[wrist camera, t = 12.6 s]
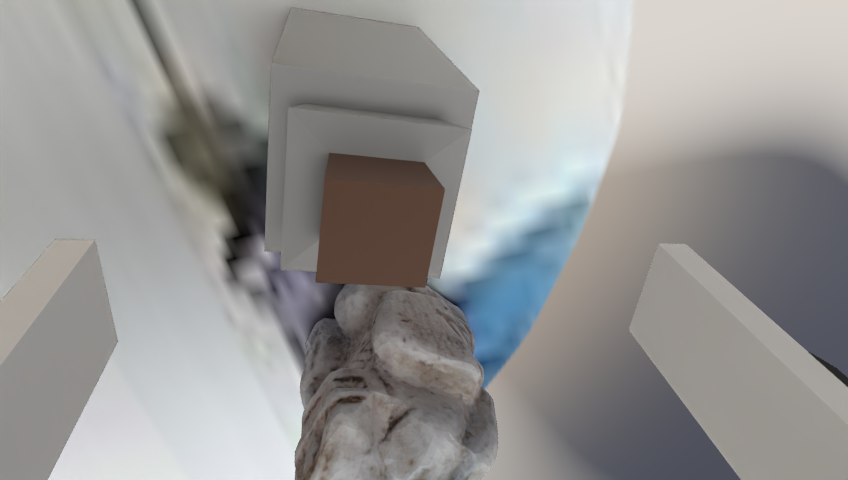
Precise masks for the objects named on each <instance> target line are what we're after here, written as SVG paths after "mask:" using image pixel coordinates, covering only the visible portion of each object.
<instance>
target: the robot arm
mask: <svg viewBox="0 0 848 480" xmlns="http://www.w3.org/2000/svg"><path fill="white" fill-rule="evenodd" d="M629 331H630V332H631V333H632V335H633V336H634V337H635V339H636V340H637V341H638V343H639V344H640V346H641V347H642V348H643V349H644V351H645V352H646V354H647V355H648V356H649V358H650V359H651V360H652V361H653V363H654V364H655V366H656V367H657V368H658V370H659V371H660V372H661V374H662V375H663V376H664V378H665V379H666V380H667V382H668V383H669V384H670V385H671V387H672V388H673V390H674V391H675V392H676V393H677V395H678V396H679V398H680V399H681V400H682V402H683V403H684V404H685V406H686V407H687V408H688V410H689V411H690V412H691V414H692V415H693V416H694V418H695V419H696V420H697V421H698V423H699V424H700V426H701V427H702V428H703V430H704V431H705V432H706V434H707V435H708V436H709V438H710V439H711V440H712V442H713V443H714V444H715V446H716V447H717V448H718V450H719V451H720V452H721V454H722V455H723V456H724V458H725V459H726V460H727V462H728V463H729V464H730V466H731V467H732V468H733V470H734V471H735V472H736V474H737V475H738V476H739V478H740V479H741V480H848V378H847V377H846V376H845V375H844V374H842V372H840V371H839V370H838V369H837V368H836V367H834V366H832V365H830V364H829V363H827V362H825V361H824V360H822V359H820V358H819V357H817V356H815V355H814V354H812V353H810V352H807V351H806V350H805V349H804V348H803V347H802V346H800V345H799V344H798V343H797V342H796V341H794V339H793V338H791V337H790V336H789V335H788V334H787V333H786V332H785V331H784V330H782V329H781V328H780V327H779V326H778V325H777V324H776V323H774V322H773V321H772V320H771V319H770V318H769V317H768V316H766V315H765V314H764V313H763V312H762V311H761V310H760V309H758V308H757V307H756V306H755V305H754V304H753V303H752V302H751V301H749V300H748V299H747V298H746V297H745V296H744V295H743V294H742V293H740V292H739V291H738V290H737V289H736V288H735V287H734V286H733V285H731V284H730V283H729V282H728V281H727V280H726V279H725V278H723V277H722V276H721V275H720V274H719V273H718V272H717V271H716V270H714V269H713V268H712V267H711V266H710V265H709V264H708V263H706V262H705V261H704V260H703V259H702V258H701V257H700V256H699V255H697V254H696V253H695V252H694V251H693V250H692V249H691V248H690V247H688V246H687V245H686V244H658V247H657V250H656V252H655V255H654V258H653V261H652V264H651V267H650V270H649V273H648V276H647V278H646V281H645V284H644V287H643V290H642V293H641V296H640V299H639V301H638V304H637V307H636V310H635V313H634V316H633V319H632V322H631V325H630V327H629ZM117 342H118V340H117V335H116V331H115V326H114V322H113V317H112V313H111V308H110V304H109V300H108V295H107V291H106V286H105V282H104V277H103V273H102V269H101V264H100V260H99V255H98V251H97V246H96V242H95V240H85V239H55V240H54V241H53V242H52V243H51V244H50V246H49V247H48V248H47V249H46V250H45V251H44V252H43V254H42V255H41V256H40V257H39V258H38V259H37V260H36V261H35V263H34V264H33V265H32V266H31V267H30V268H29V269H28V271H27V272H26V273H25V274H24V275H23V276H22V277H21V279H20V280H19V281H18V282H17V283H16V284H15V285H14V286H13V288H12V289H11V290H10V291H9V292H8V293H7V294H6V296H5V297H4V298H3V299H2V300H1V301H0V480H48V478H49V476H50V474H51V472H52V470H53V468H54V466H55V464H56V462H57V460H58V458H59V456H60V454H61V452H62V450H63V448H64V446H65V444H66V443H67V441H68V439H69V437H70V435H71V433H72V431H73V429H74V427H75V425H76V423H77V421H78V419H79V417H80V415H81V413H82V411H83V409H84V407H85V405H86V403H87V401H88V399H89V397H90V395H91V393H92V391H93V390H94V388H95V386H96V384H97V382H98V380H99V378H100V376H101V374H102V372H103V370H104V368H105V366H106V364H107V362H108V360H109V358H110V356H111V354H112V352H113V350H114V348H115V346H116V344H117Z"/></svg>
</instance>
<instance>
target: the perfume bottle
mask: <svg viewBox="0 0 848 480" xmlns="http://www.w3.org/2000/svg"><path fill="white" fill-rule="evenodd" d="M478 95H479V90H478V89H477V88H476V87H475V86H474V85H473V84H472V83H471V82H470V80H469V79H468V78H467V77H466V76H465V75H464V74H463V73H462V72H461V71H460V70H459V69H458V68H457V67H456V66H455V65H454V64H453V63H452V62H451V61H450V60H449V59H448V58H447V57H446V55H445V54H444V53H443V52H442V51H441V50H440V49H439V48H438V47H437V46H436V45H435V44H434V43H433V42H432V41H431V40H430V39H429V38H428V37H427V36H426V35H425V34H424V33H423V32H422V30H421V29H420V28H419V27H413V26H407V25H401V24H394V23H388V22H381V21H375V20H369V19H362V18H356V17H350V16H343V15H337V14H330V13H324V12H318V11H311V10H305V9H298V8H291V11H290V13H289V16H288V19H287V21H286V24H285V27H284V29H283V32H282V35H281V37H280V40H279V43H278V45H277V48H276V50H275V53H274V56H273V58H272V61H271V72H270V102H269V132H268V161H267V191H266V221H265V251H268V252H281V265H280V270H292V271H311V272H316V282H317V283H338V284H358V285H379V286H399V287H419V288H425V287H426V282H427V278H440V275H441V271H442V266H443V261H444V257H445V252H446V247H447V243H448V238H449V233H450V229H451V224H452V219H453V215H454V210H455V205H456V201H457V196H458V191H459V187H460V182H461V177H462V173H463V168H464V163H465V159H466V154H467V149H468V145H469V140H470V135H471V131H472V129H471V128H472V123H473V118H474V114H475V109H476V104H477V100H478Z"/></svg>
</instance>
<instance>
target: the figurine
mask: <svg viewBox="0 0 848 480" xmlns="http://www.w3.org/2000/svg"><path fill="white" fill-rule="evenodd" d="M334 315H335V317H336V319H329V318H324V319H322V320H320V321H318V322H317V323H316V325H315V326H314V327H313V329H312V332H311V334H310V336H309V338H308V339H307V341H306V343H305V346H306V355H305V361H304V371H303V374H302V377H301V383H300V394H301V399H302V404H303V406H304V409H305V410H304V412H303V416H302V434H301V439H300V441H299V443H298V446H297V448H296V451H295V467H296V471H295V480H480V479H481V478H482V477H483V476H484V475H485V474H486V473H487V472H488V470H489V469H490V468H491V467H492V465H493V463H494V462H495V459H496V456H497V450H498V430H497V420H496V415H495V409H494V402H493V399H492V397H491V396H490V395H489V394H488V392H487V391H486V390H485V389H484V388H483V387H482V386H481V385H482V383H483V381H484V370H483V368H482V366H481V365H480V363H479V362H478V361H477V359H476V358H475V357H474V356H473V352H474V348H475V338H474V334H473V332H472V330H471V329H470V327H469V326H468V322H467V319H466V317H465V315H464V313H463V312H462V311H461V310H460V309H459V308H458V307H457V306H455V305H454V304H452V303H450V302H449V301H448V300H446V299H445V298H443V297H442V296H441V295H440V294H438V293H437V292H435V291H434V290H432V289H431V288H430V287H428V286H427V285H426V287H425V288H419V287H399V286H379V285H358V284H346V285H345V286H344V287H343V289H342V290H341V291H340V292H339V294H338V296H337V298H336V302H335V308H334Z"/></svg>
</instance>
